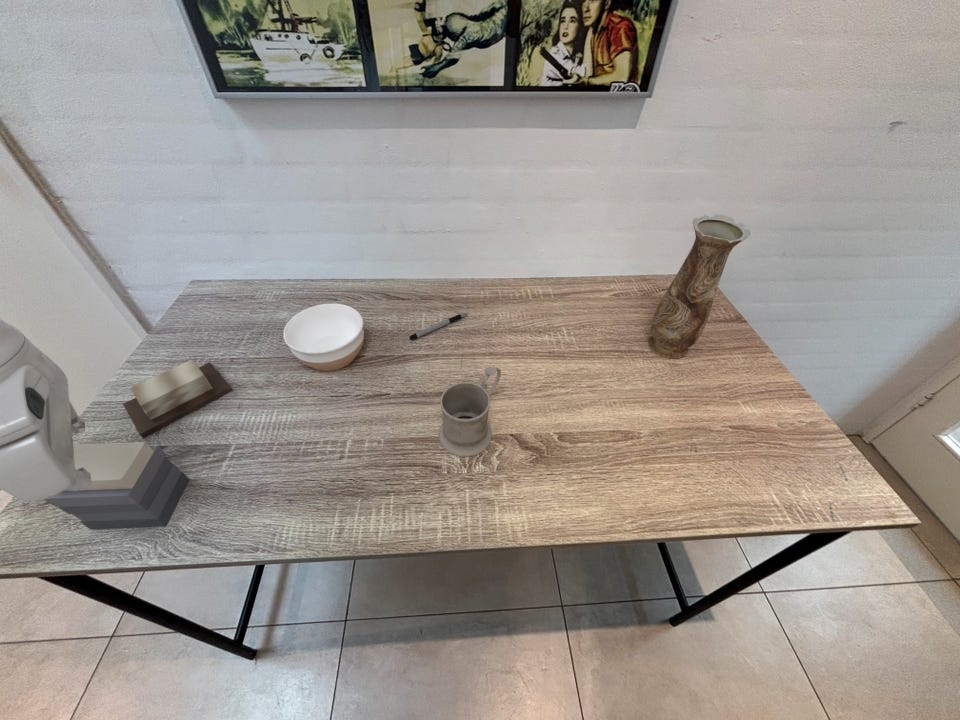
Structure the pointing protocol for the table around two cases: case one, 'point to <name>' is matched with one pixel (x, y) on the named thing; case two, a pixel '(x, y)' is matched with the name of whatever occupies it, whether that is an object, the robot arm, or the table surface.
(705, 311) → the vase
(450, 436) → the mug
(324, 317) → the bowl
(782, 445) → the table surface
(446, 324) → the pen
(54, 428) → the robot arm
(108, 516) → the grey books
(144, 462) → the white book
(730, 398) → the table surface
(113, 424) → the table surface
